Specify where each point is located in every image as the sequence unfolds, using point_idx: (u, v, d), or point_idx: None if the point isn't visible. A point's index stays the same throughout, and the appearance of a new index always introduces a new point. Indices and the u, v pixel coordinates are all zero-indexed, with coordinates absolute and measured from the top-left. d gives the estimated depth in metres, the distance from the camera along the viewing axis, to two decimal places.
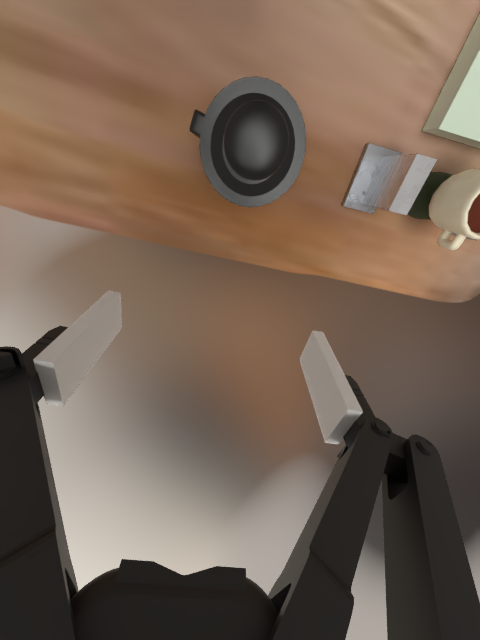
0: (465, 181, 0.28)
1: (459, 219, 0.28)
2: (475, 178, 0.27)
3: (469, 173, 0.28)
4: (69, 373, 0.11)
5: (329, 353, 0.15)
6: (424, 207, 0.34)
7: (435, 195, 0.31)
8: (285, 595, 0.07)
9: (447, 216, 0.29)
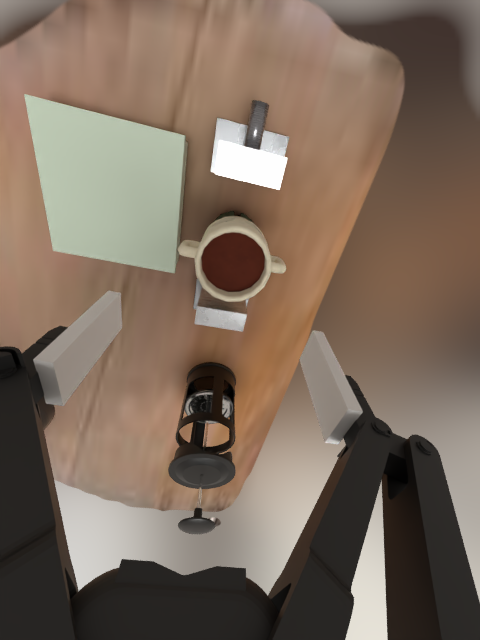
0: None
1: None
2: None
3: None
4: (69, 373, 0.11)
5: (329, 353, 0.15)
6: None
7: None
8: (285, 595, 0.07)
9: None
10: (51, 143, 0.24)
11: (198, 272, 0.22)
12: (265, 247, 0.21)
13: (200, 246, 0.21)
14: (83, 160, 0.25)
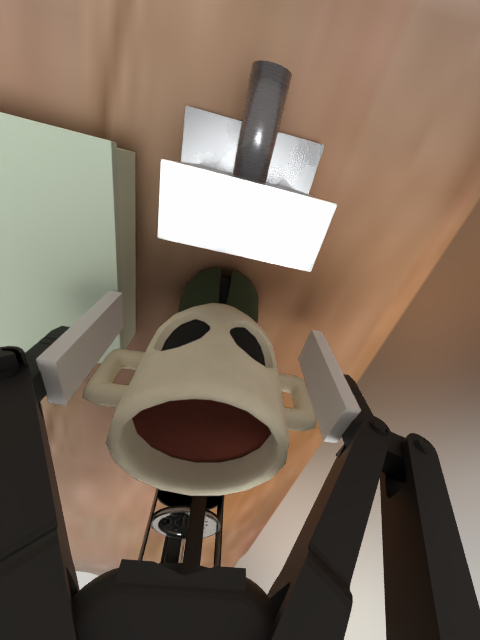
0: None
1: None
2: None
3: None
4: (71, 372, 0.11)
5: (328, 352, 0.15)
6: None
7: None
8: (284, 594, 0.07)
9: None
10: None
11: (119, 461, 0.10)
12: (276, 426, 0.09)
13: (114, 422, 0.08)
14: None
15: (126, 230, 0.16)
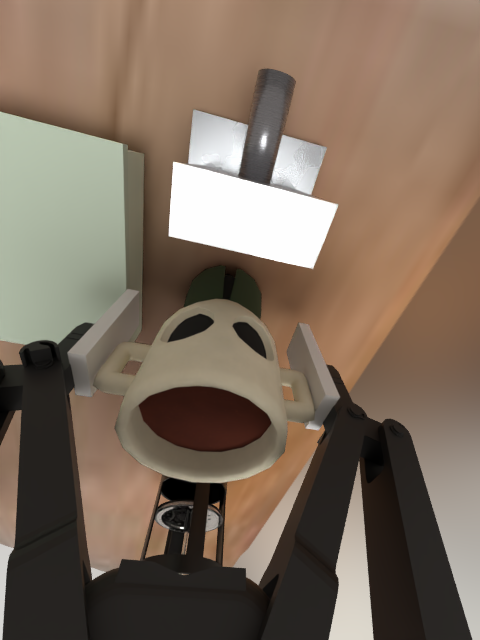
0: None
1: None
2: None
3: None
4: (97, 366, 0.12)
5: (312, 344, 0.15)
6: None
7: None
8: (274, 586, 0.07)
9: None
10: None
11: (127, 445, 0.10)
12: (275, 414, 0.09)
13: (123, 407, 0.09)
14: None
15: (134, 229, 0.16)
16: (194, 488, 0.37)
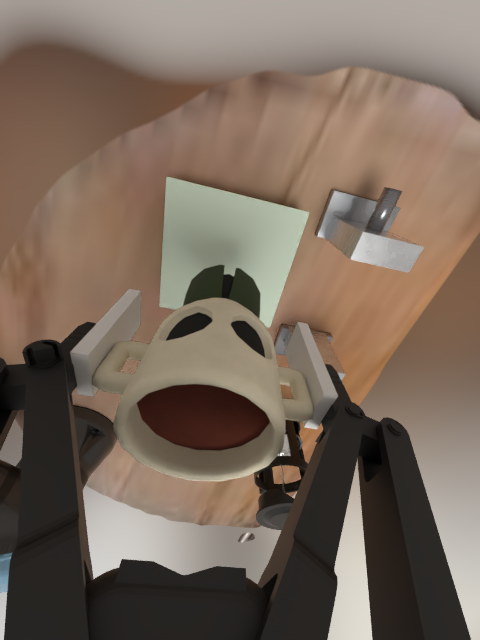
0: None
1: None
2: None
3: None
4: (99, 365, 0.12)
5: (311, 343, 0.15)
6: None
7: None
8: (273, 585, 0.07)
9: None
10: (181, 217, 0.25)
11: (125, 444, 0.10)
12: (273, 412, 0.09)
13: (121, 405, 0.09)
14: (207, 232, 0.26)
15: None
16: None
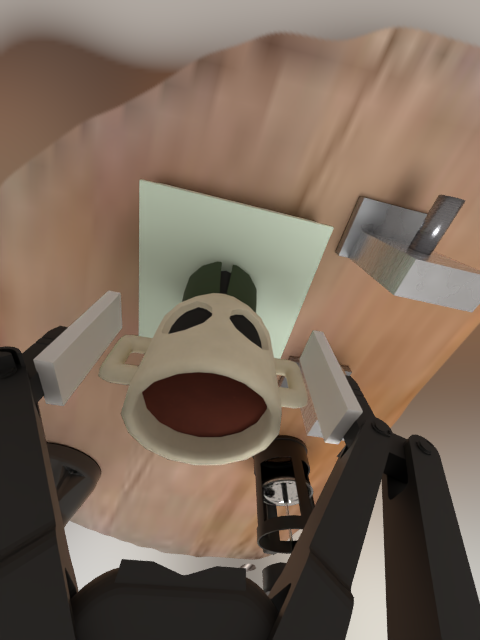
0: None
1: None
2: None
3: None
4: (69, 373, 0.11)
5: (329, 353, 0.15)
6: None
7: None
8: (285, 595, 0.07)
9: None
10: (162, 234, 0.19)
11: (132, 430, 0.11)
12: (269, 397, 0.10)
13: (129, 393, 0.10)
14: (197, 252, 0.20)
15: None
16: (274, 471, 0.43)
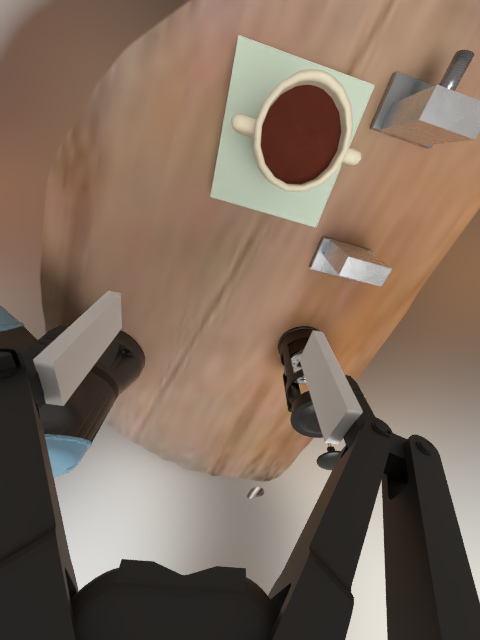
0: (265, 177, 0.21)
1: None
2: (262, 172, 0.20)
3: (257, 163, 0.22)
4: (69, 373, 0.11)
5: (329, 353, 0.15)
6: None
7: None
8: (285, 595, 0.07)
9: None
10: (246, 86, 0.26)
11: (258, 142, 0.18)
12: (349, 107, 0.16)
13: (266, 100, 0.16)
14: None
15: None
16: None
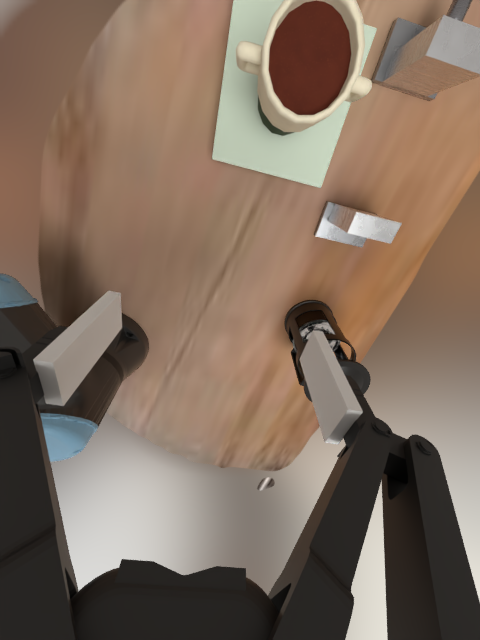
0: (272, 115, 0.20)
1: (322, 119, 0.19)
2: (269, 107, 0.20)
3: (262, 103, 0.21)
4: (69, 373, 0.11)
5: (329, 353, 0.15)
6: None
7: (286, 131, 0.23)
8: (285, 595, 0.07)
9: (315, 123, 0.20)
10: (246, 35, 0.25)
11: (266, 66, 0.17)
12: (361, 19, 0.16)
13: (274, 15, 0.16)
14: None
15: None
16: None
